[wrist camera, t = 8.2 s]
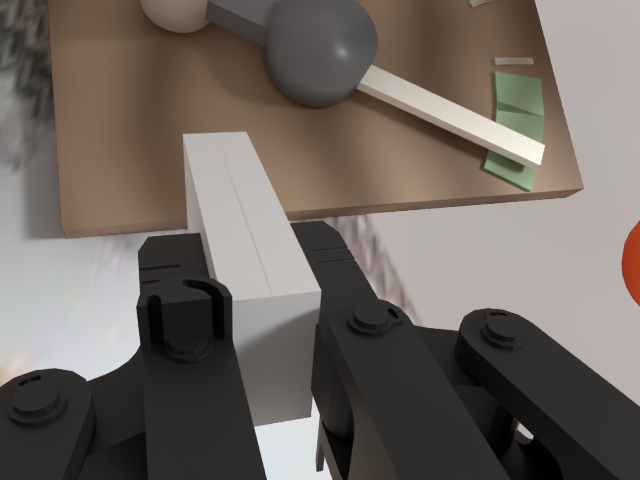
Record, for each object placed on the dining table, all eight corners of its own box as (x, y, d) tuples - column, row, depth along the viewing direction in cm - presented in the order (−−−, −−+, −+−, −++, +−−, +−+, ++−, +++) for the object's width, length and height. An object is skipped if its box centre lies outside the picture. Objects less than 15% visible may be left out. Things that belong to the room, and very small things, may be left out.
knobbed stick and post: (542, 122, 32) (720, -8, 22) (522, 203, 31) (704, 103, 21) (156, -60, 29) (155, -310, 19) (111, 20, 28) (84, -206, 17)
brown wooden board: (500, -63, 38) (515, -84, 36) (566, 197, 34) (586, 187, 32) (45, -90, 30) (39, -117, 29) (66, 238, 27) (60, 227, 25)
